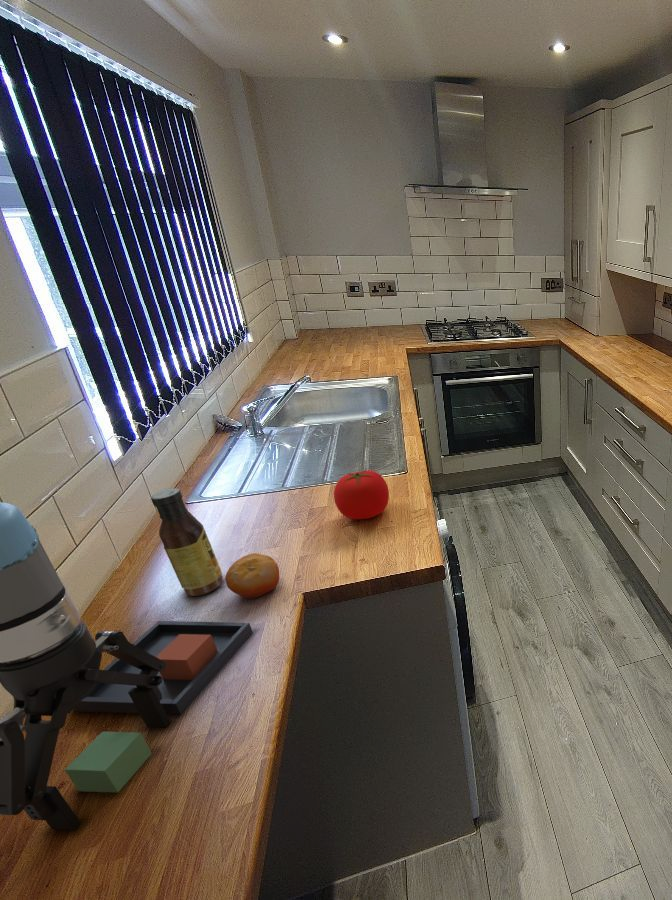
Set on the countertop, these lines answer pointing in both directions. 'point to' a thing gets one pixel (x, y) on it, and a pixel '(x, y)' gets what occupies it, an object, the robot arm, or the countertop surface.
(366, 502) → the tomato
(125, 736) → the green block
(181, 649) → the reddish brown block
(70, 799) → the countertop surface
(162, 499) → the sauce bottle
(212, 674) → the tray
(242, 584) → the fruit
